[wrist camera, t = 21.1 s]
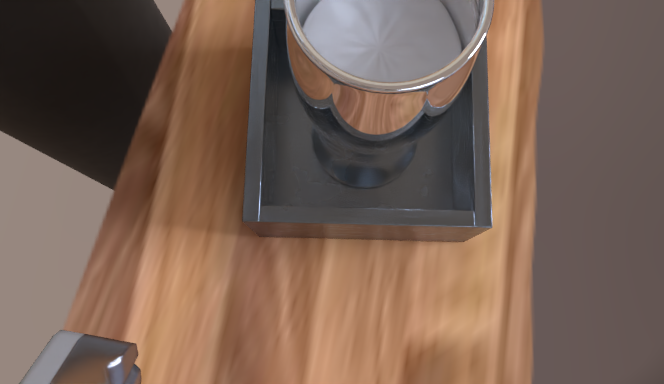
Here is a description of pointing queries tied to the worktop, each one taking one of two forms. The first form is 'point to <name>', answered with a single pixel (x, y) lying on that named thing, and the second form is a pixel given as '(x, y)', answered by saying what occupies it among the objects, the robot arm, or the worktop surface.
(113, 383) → the robot arm
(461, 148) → the dark gray square tray
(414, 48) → the metal tumbler
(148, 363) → the worktop surface
